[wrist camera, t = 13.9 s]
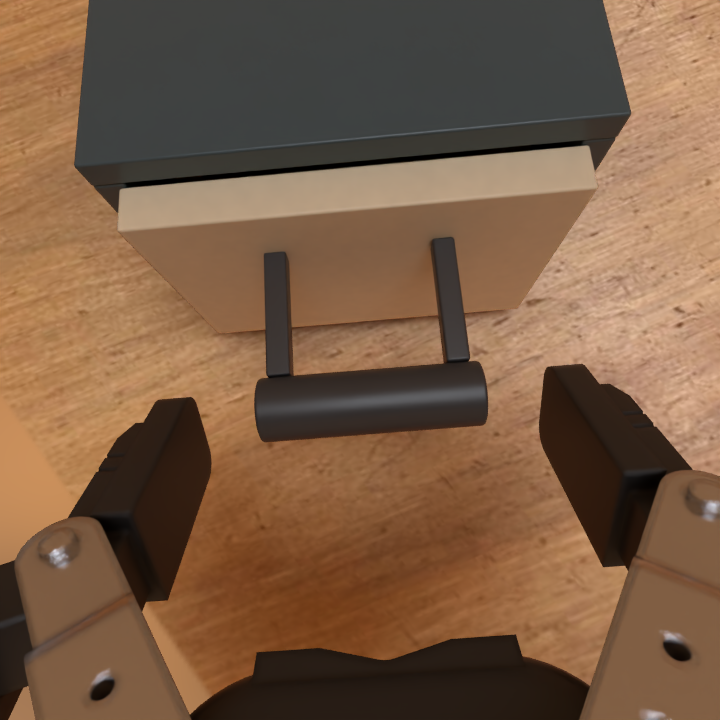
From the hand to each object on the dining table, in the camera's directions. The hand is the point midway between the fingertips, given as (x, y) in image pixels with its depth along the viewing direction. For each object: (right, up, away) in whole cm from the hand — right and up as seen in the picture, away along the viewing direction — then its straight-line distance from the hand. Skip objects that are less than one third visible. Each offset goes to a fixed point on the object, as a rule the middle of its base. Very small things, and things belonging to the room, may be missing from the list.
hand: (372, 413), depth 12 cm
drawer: (0, +7, +9) cm, 11 cm away
